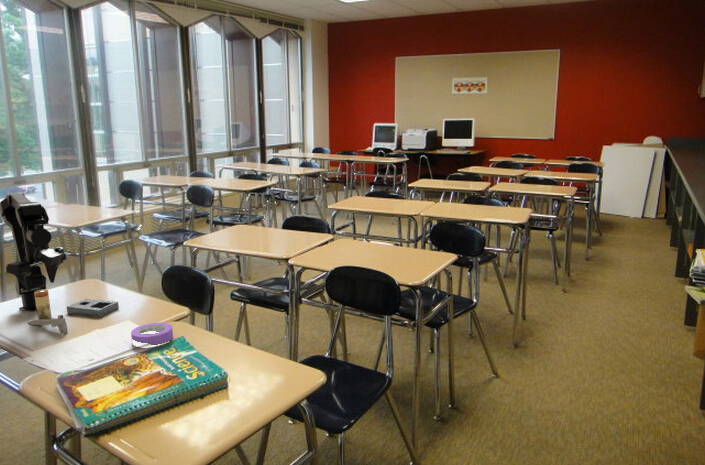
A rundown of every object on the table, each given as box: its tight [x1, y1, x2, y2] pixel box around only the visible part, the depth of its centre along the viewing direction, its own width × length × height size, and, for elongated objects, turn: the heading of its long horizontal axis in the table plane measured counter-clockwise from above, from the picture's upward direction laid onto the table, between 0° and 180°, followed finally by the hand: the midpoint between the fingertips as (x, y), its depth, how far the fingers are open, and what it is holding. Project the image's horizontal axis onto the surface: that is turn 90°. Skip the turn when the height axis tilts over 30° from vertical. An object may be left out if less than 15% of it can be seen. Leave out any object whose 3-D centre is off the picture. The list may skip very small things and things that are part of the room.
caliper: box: [27, 314, 68, 335], centre depth 172 cm, size 20×1×6 cm, turn 60°
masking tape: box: [130, 322, 174, 345], centre depth 161 cm, size 12×12×4 cm
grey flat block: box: [66, 298, 120, 318], centre depth 187 cm, size 14×9×2 cm, turn 72°
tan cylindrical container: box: [34, 288, 53, 320], centre depth 179 cm, size 4×4×10 cm
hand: (40, 286), depth 178 cm, fingers open, 9 cm apart
